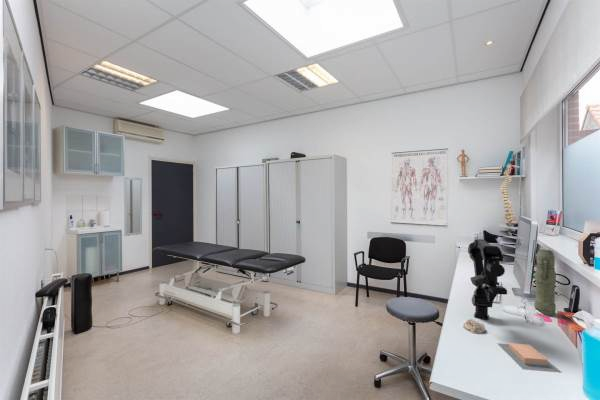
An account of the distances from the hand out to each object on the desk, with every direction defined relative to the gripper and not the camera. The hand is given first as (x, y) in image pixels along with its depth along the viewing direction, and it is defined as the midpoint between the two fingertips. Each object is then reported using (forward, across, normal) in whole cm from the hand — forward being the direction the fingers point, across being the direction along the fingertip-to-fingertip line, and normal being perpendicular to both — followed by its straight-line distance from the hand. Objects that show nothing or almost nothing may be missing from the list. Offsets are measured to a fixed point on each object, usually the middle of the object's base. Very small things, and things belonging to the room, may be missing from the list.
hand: (490, 302), depth 142 cm
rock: (+14, +2, -8) cm, 16 cm away
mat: (+13, +25, +2) cm, 28 cm away
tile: (+11, +20, +2) cm, 23 cm away
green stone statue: (+13, -25, +39) cm, 48 cm away
